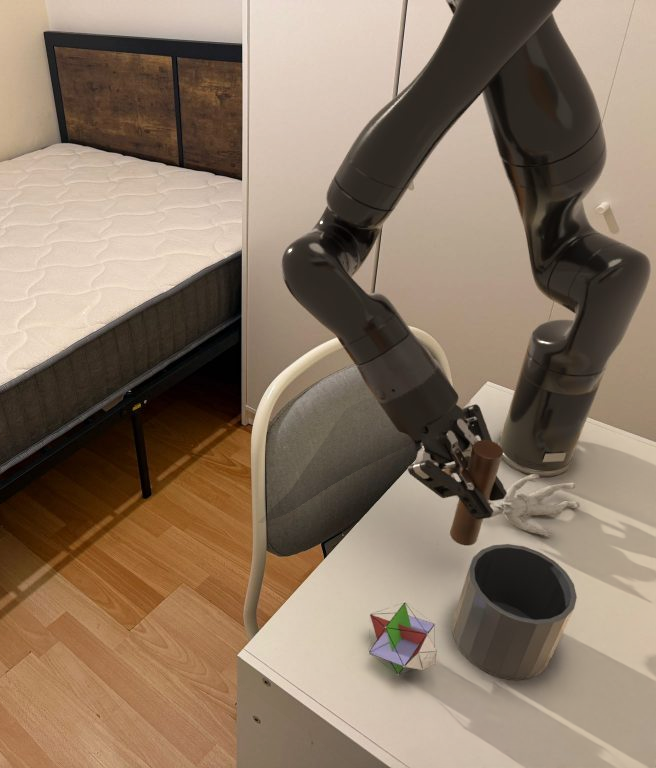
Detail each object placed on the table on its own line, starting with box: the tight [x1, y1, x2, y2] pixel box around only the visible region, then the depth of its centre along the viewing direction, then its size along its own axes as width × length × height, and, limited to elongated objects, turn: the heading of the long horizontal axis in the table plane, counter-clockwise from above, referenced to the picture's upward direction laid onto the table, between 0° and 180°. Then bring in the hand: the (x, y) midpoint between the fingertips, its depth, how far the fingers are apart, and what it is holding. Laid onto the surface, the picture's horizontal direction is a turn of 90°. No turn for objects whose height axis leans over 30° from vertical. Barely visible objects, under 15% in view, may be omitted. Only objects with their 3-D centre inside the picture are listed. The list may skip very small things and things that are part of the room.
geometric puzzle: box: [367, 601, 437, 676], centre depth 79 cm, size 7×7×8 cm
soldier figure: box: [488, 474, 581, 537], centre depth 94 cm, size 8×5×12 cm
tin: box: [451, 543, 578, 681], centre depth 78 cm, size 10×10×10 cm
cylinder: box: [449, 439, 503, 546], centre depth 83 cm, size 3×3×14 cm
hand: (491, 506), depth 82 cm, fingers closed on cylinder, 3 cm apart
